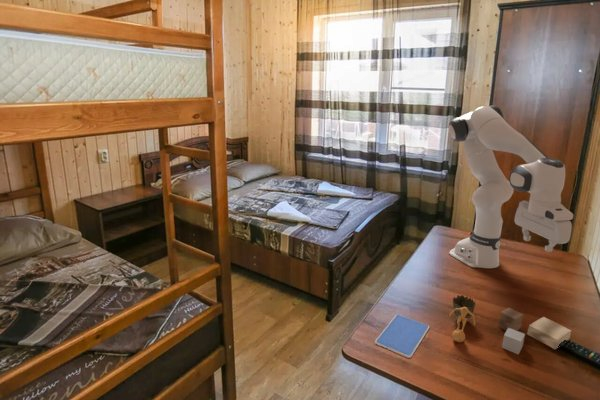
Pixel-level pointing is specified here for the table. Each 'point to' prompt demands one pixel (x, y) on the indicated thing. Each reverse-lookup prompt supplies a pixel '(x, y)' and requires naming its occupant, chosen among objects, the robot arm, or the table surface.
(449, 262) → the table surface
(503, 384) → the table surface
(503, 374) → the table surface
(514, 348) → the grey painted cube
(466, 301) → the cup
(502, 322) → the walnut block
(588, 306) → the table surface
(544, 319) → the beech pedestal block
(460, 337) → the figurine
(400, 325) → the tablet computer
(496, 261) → the robot arm
